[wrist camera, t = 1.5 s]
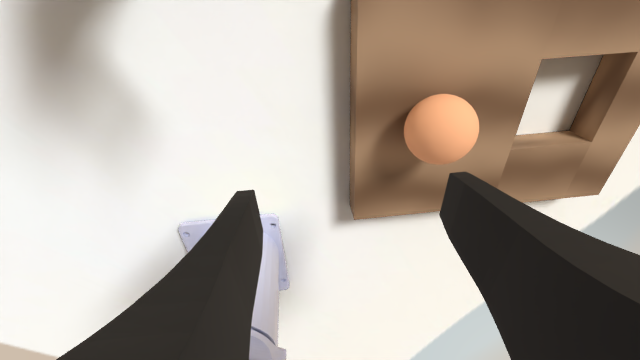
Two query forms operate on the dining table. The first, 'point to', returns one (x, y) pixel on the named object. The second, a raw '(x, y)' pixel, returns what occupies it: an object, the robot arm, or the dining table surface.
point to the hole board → (487, 95)
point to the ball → (441, 129)
